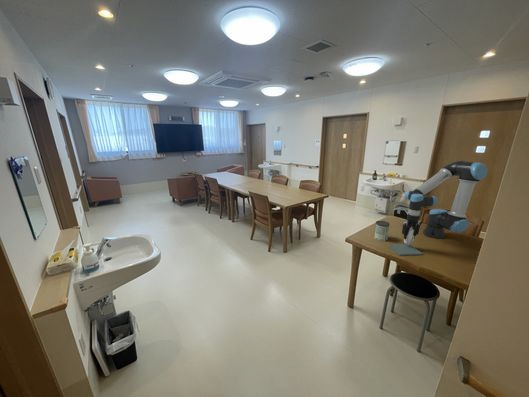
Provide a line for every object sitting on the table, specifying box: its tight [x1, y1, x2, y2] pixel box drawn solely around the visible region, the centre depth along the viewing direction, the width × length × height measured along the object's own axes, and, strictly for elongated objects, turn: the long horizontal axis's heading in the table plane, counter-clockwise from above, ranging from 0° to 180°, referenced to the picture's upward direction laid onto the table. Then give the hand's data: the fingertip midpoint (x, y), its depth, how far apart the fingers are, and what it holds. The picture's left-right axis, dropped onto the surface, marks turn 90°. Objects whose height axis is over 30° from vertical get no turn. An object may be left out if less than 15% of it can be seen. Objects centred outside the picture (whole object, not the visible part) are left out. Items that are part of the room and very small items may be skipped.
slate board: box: [388, 243, 423, 257], centre depth 163 cm, size 17×14×1 cm
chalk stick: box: [405, 227, 414, 245], centre depth 164 cm, size 4×4×12 cm
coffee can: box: [373, 220, 391, 242], centre depth 181 cm, size 10×10×14 cm
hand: (408, 242), depth 165 cm, fingers closed on chalk stick, 4 cm apart
